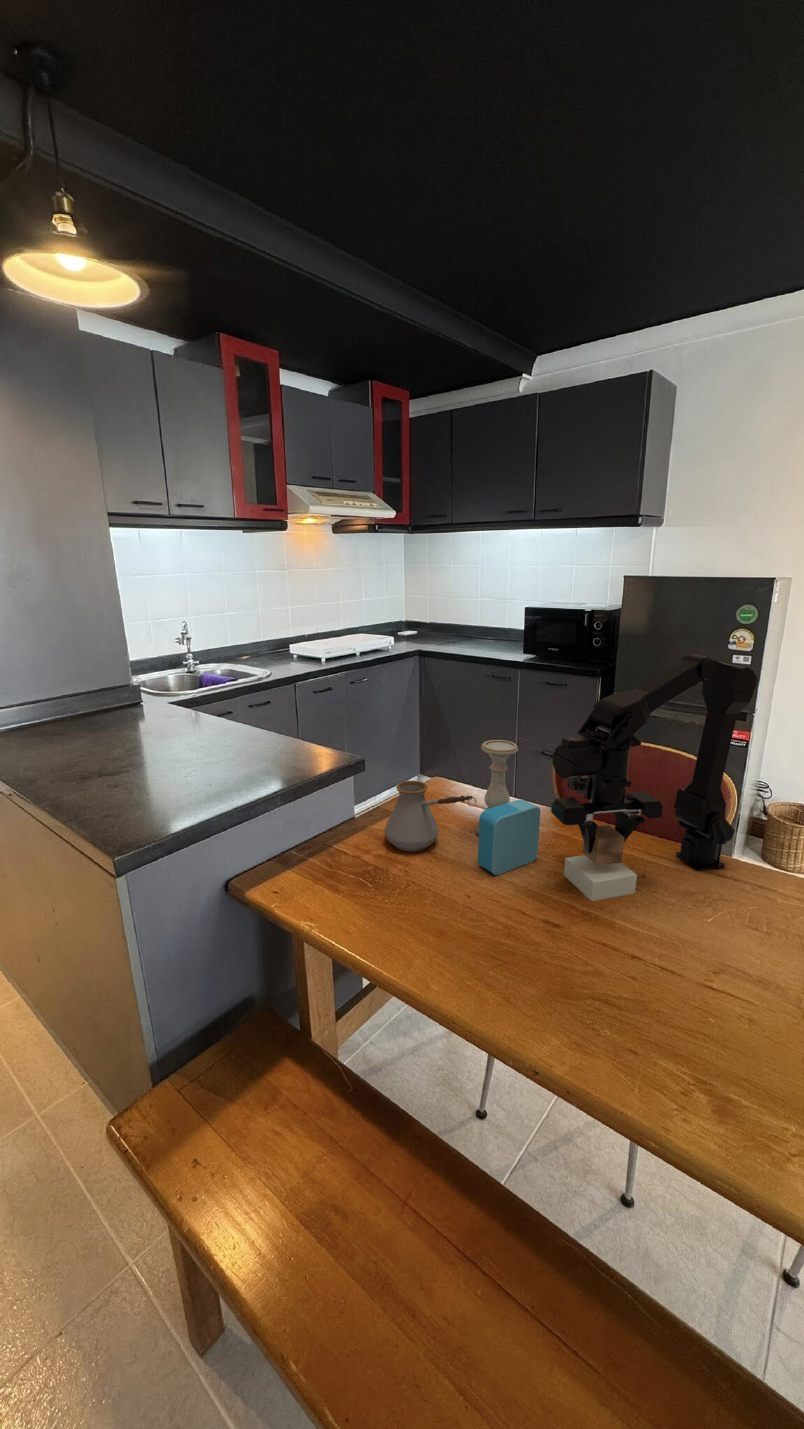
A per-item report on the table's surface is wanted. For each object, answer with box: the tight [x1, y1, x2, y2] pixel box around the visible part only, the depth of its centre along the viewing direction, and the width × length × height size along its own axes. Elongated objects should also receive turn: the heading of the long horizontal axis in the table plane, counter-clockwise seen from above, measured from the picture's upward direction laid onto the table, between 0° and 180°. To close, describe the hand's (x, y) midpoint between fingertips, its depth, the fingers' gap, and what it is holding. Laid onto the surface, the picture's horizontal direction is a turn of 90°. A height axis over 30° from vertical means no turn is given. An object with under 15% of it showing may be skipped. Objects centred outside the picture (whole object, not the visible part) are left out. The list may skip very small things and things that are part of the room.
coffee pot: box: [383, 780, 477, 852], centre depth 119 cm, size 21×12×15 cm, turn 48°
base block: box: [563, 854, 638, 902], centre depth 108 cm, size 9×9×4 cm
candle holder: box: [474, 739, 519, 837], centre depth 125 cm, size 9×9×20 cm
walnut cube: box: [582, 824, 625, 865], centre depth 106 cm, size 5×5×5 cm
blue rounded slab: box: [477, 798, 541, 876], centre depth 114 cm, size 12×4×12 cm, turn 123°
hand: (602, 850), depth 107 cm, fingers closed on walnut cube, 5 cm apart
